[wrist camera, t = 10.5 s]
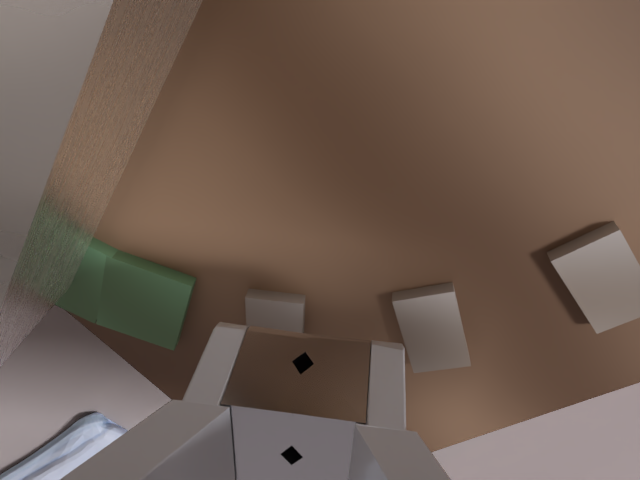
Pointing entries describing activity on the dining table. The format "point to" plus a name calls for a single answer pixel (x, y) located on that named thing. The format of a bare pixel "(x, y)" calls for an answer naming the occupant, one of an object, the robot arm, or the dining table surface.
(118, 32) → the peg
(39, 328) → the dining table surface
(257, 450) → the robot arm
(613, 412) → the dining table surface
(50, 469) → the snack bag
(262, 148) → the dial board
